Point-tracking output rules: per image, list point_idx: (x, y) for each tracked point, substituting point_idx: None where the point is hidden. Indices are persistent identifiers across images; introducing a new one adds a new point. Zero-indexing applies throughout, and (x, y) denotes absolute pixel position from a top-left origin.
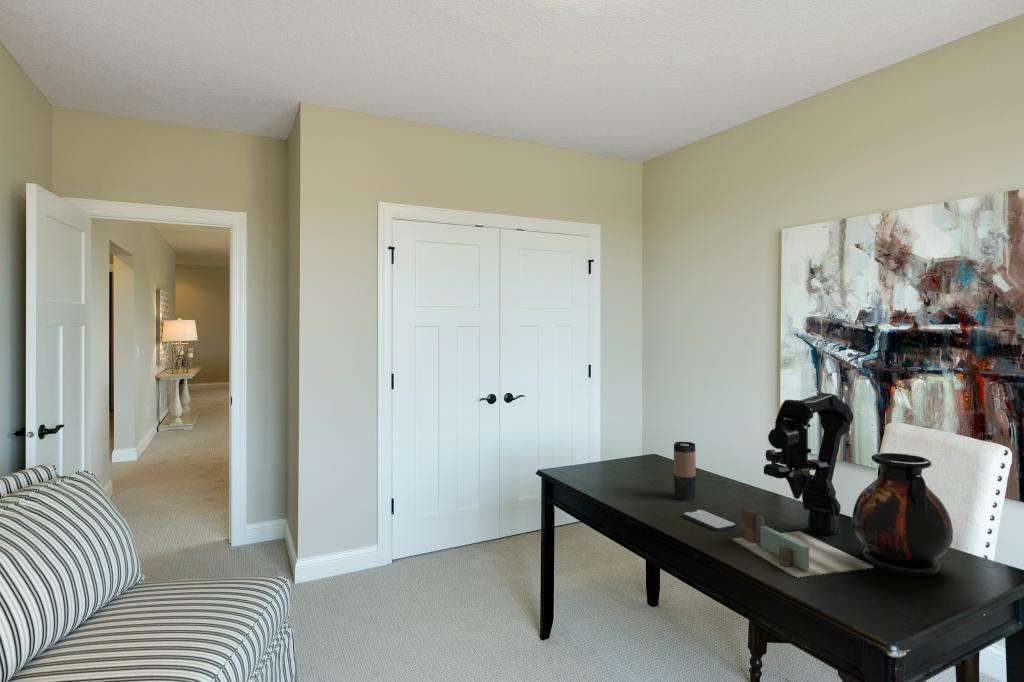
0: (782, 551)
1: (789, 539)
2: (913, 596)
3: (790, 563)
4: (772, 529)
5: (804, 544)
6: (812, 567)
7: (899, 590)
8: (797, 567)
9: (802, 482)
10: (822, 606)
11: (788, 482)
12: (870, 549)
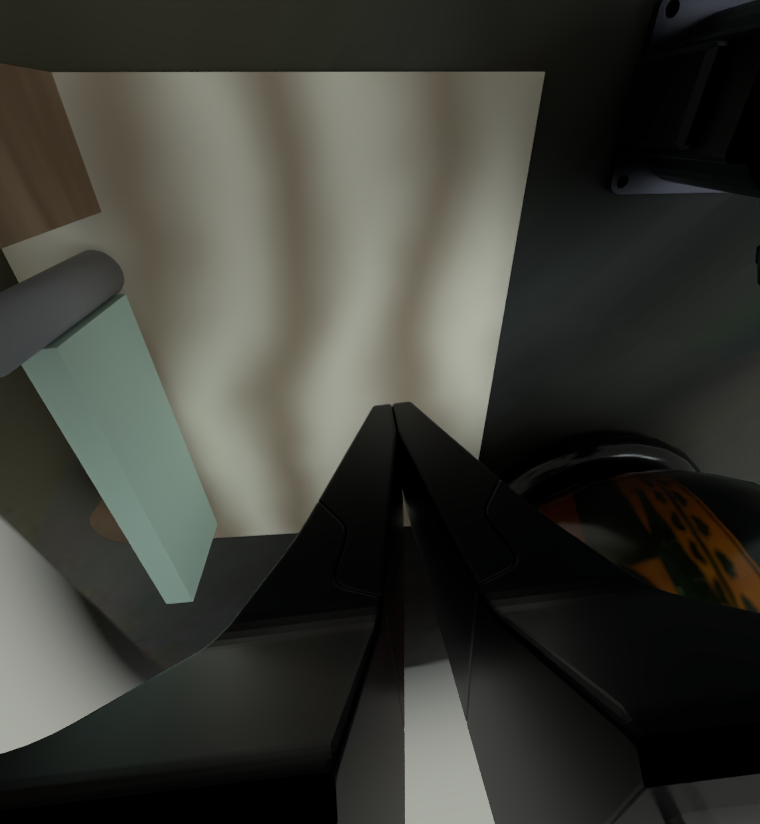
0: (100, 531)
1: (137, 542)
2: (405, 624)
3: None
4: (92, 419)
5: (384, 305)
6: (248, 502)
7: None
8: None
9: (466, 699)
10: (146, 636)
11: (271, 581)
12: None
